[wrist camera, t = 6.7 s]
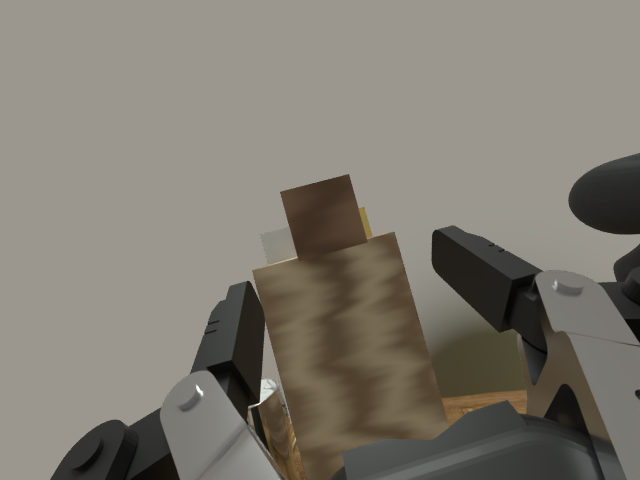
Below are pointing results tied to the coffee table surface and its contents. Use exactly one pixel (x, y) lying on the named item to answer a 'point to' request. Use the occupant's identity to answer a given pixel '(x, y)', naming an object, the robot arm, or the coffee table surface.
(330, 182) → the brown wooden bar
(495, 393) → the coffee table surface
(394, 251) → the oak pedestal
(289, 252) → the grey cube
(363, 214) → the mustard cube
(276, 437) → the beer glass
